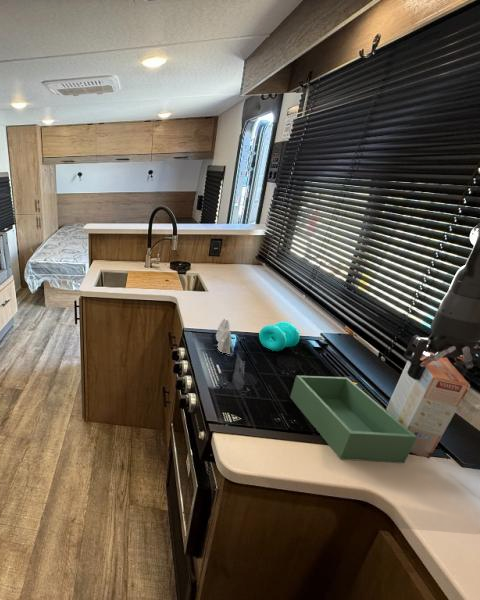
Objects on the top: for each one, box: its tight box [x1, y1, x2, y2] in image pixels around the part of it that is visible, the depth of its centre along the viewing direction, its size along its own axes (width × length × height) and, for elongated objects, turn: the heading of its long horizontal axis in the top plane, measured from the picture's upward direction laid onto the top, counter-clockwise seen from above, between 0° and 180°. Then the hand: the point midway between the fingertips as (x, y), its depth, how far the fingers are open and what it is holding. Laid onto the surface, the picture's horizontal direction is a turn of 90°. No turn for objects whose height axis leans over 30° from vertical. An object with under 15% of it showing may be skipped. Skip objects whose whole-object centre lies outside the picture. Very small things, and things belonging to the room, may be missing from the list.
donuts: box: [258, 321, 301, 353], centre depth 115 cm, size 10×10×10 cm
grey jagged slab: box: [215, 317, 232, 355], centre depth 116 cm, size 12×4×11 cm, turn 163°
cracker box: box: [385, 351, 471, 460], centre depth 73 cm, size 14×6×21 cm, turn 147°
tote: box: [289, 375, 417, 464], centre depth 79 cm, size 14×22×8 cm, turn 174°
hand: (433, 378), depth 70 cm, fingers closed on cracker box, 8 cm apart
